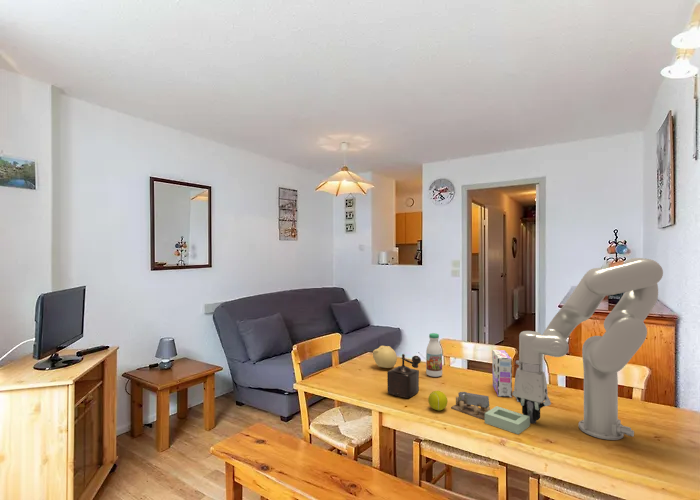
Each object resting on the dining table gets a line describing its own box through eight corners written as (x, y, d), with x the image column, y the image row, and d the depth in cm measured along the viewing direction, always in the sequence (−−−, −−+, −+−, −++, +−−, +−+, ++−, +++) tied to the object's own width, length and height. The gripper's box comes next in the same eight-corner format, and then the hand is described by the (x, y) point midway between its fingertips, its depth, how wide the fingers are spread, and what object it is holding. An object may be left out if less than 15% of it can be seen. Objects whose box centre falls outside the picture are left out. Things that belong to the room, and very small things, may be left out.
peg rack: (494, 414, 142) (494, 404, 142) (484, 420, 137) (484, 410, 137) (460, 403, 152) (460, 394, 152) (451, 408, 147) (451, 399, 147)
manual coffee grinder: (385, 393, 163) (385, 351, 163) (398, 386, 172) (398, 346, 172) (418, 402, 153) (418, 357, 153) (430, 393, 162) (430, 351, 162)
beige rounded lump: (385, 361, 209) (385, 342, 209) (401, 367, 199) (401, 346, 199) (369, 365, 202) (369, 345, 202) (385, 371, 192) (385, 350, 192)
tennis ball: (438, 415, 142) (438, 396, 142) (424, 408, 147) (424, 390, 147) (451, 410, 146) (450, 392, 146) (436, 404, 151) (436, 386, 151)
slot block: (529, 426, 132) (529, 416, 132) (518, 435, 126) (518, 424, 126) (496, 415, 141) (496, 406, 141) (484, 423, 135) (484, 413, 135)
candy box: (512, 397, 157) (512, 358, 157) (497, 396, 159) (497, 357, 158) (505, 386, 171) (505, 349, 171) (492, 385, 172) (491, 349, 172)
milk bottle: (423, 372, 190) (423, 332, 190) (437, 371, 192) (436, 331, 192) (431, 377, 182) (431, 336, 182) (445, 376, 185) (445, 335, 185)
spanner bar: (490, 405, 141) (489, 395, 141) (485, 408, 138) (484, 398, 139) (462, 400, 149) (461, 391, 150) (457, 402, 147) (456, 393, 147)
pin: (537, 422, 135) (537, 394, 135) (533, 425, 133) (533, 396, 133) (528, 419, 137) (528, 392, 137) (525, 422, 135) (524, 394, 135)
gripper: (503, 363, 139) (503, 414, 139) (551, 374, 126) (551, 429, 126) (512, 359, 144) (513, 408, 144) (559, 369, 131) (559, 422, 132)
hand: (531, 417), depth 135 cm, fingers closed on pin, 3 cm apart
